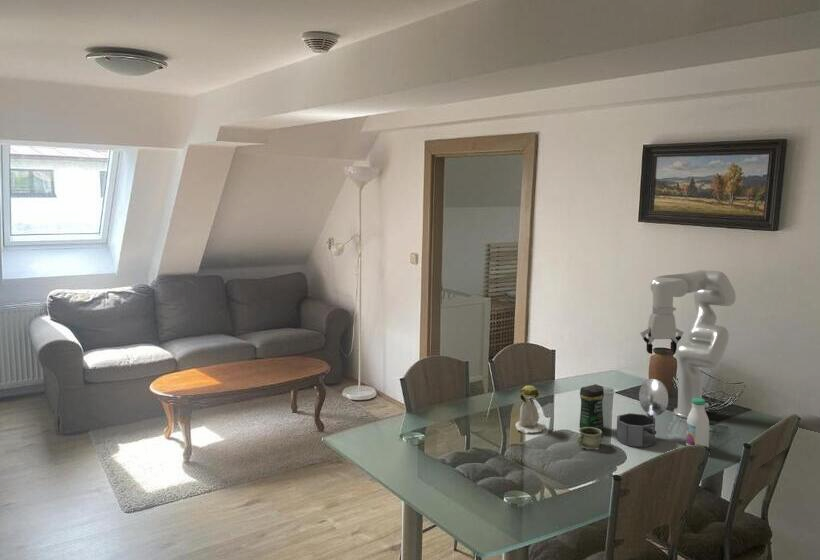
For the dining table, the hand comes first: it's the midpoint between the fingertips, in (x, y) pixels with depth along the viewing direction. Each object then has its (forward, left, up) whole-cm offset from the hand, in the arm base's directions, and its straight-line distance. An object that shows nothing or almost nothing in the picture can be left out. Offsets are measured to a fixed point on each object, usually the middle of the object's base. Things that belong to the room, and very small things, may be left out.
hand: (661, 352), depth 252 cm
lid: (+8, +4, -16) cm, 19 cm away
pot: (+16, +4, -33) cm, 37 cm away
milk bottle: (+3, +22, -33) cm, 40 cm away
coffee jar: (+23, -14, -33) cm, 43 cm away
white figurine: (+45, -26, -33) cm, 62 cm away
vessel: (+35, 0, -33) cm, 48 cm away
